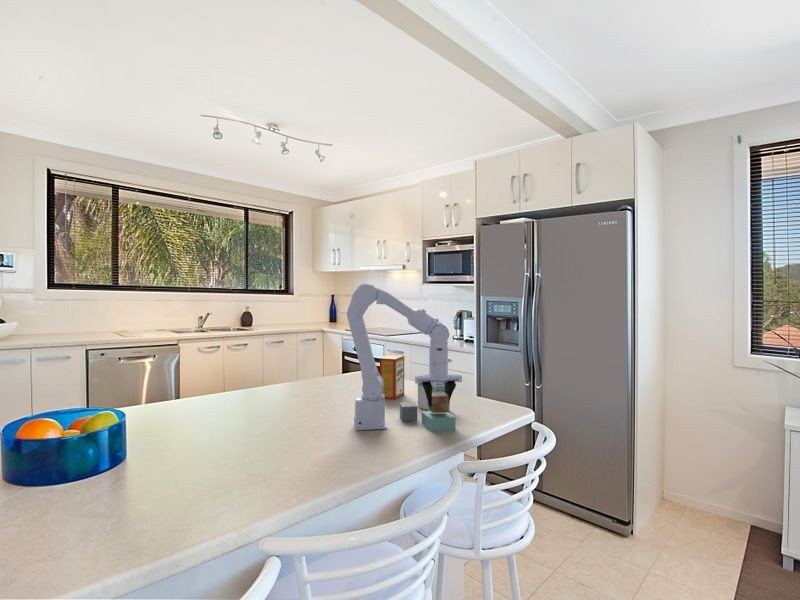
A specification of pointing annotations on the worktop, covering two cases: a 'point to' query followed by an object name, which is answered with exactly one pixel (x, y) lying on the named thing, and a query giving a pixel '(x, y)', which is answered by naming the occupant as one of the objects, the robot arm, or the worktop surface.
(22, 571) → the worktop surface
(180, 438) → the worktop surface
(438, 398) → the walnut cube
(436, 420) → the teal base block
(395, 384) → the baking soda box
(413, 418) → the slate cube
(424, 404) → the light bulb box
